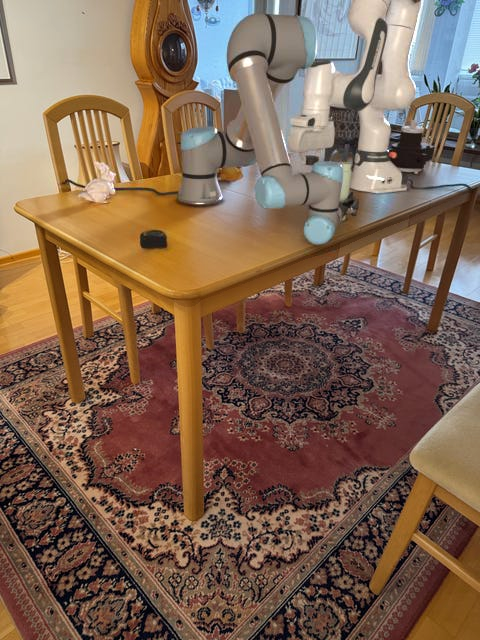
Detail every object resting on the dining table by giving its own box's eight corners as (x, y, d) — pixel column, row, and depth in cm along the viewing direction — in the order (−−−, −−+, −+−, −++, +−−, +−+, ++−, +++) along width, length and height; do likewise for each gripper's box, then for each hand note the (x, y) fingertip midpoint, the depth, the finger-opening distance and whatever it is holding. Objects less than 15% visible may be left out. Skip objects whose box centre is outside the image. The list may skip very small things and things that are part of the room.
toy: (211, 173, 177) (218, 164, 190) (217, 189, 180) (223, 179, 193) (237, 164, 174) (242, 156, 187) (243, 180, 177) (247, 171, 189)
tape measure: (140, 252, 115) (139, 238, 113) (141, 242, 120) (140, 229, 119) (167, 251, 116) (166, 237, 114) (167, 241, 121) (166, 228, 120)
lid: (321, 163, 151) (321, 156, 150) (312, 166, 148) (313, 159, 146) (306, 161, 154) (307, 154, 153) (298, 163, 150) (298, 156, 149)
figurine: (124, 198, 157) (120, 160, 151) (89, 208, 146) (83, 167, 140) (108, 194, 161) (103, 157, 155) (73, 204, 150) (67, 164, 144)
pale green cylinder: (329, 216, 145) (335, 161, 136) (343, 216, 145) (350, 161, 136) (332, 220, 141) (339, 164, 132) (346, 220, 141) (354, 164, 132)
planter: (313, 167, 208) (319, 103, 195) (331, 160, 222) (338, 101, 209) (353, 173, 199) (362, 107, 185) (369, 166, 213) (379, 104, 199)
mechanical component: (380, 119, 194) (409, 114, 214) (372, 170, 205) (400, 161, 225) (430, 124, 182) (455, 119, 202) (419, 178, 193) (444, 167, 213)
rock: (349, 149, 251) (351, 136, 248) (362, 151, 245) (364, 138, 242) (334, 151, 243) (336, 138, 240) (347, 154, 238) (349, 141, 234)
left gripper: (296, 224, 130) (315, 203, 149) (359, 232, 124) (369, 210, 143) (299, 198, 126) (317, 180, 145) (363, 205, 121) (373, 186, 139)
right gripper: (326, 116, 152) (321, 159, 159) (286, 119, 140) (283, 165, 147) (341, 118, 149) (335, 162, 155) (302, 121, 136) (298, 169, 143)
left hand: (343, 195), depth 144 cm, fingers closed on pale green cylinder, 5 cm apart
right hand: (309, 163), depth 151 cm, fingers closed on lid, 5 cm apart
